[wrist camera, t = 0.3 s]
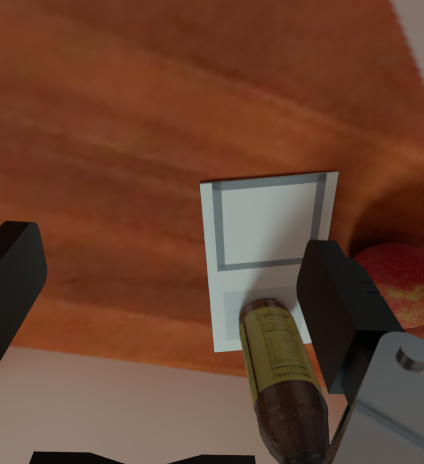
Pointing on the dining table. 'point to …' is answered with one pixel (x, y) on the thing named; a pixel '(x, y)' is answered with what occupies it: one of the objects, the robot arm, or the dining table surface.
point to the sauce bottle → (283, 385)
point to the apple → (397, 278)
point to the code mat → (261, 243)
